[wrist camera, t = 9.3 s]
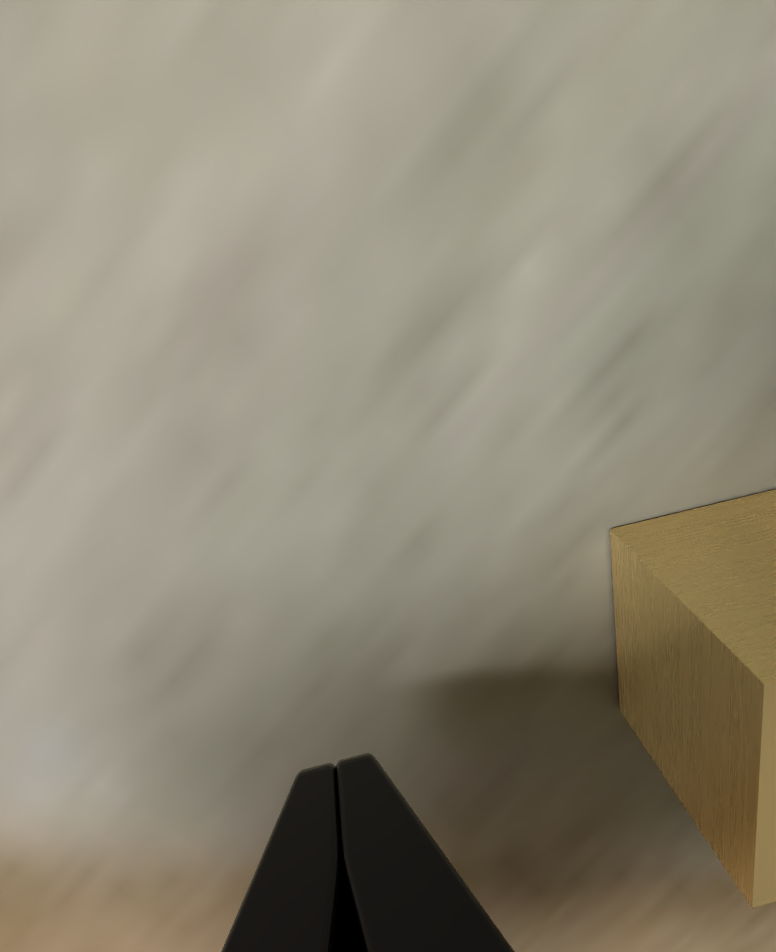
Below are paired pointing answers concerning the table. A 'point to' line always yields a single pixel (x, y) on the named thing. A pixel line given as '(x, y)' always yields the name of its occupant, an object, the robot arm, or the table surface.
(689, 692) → the block
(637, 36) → the table surface
